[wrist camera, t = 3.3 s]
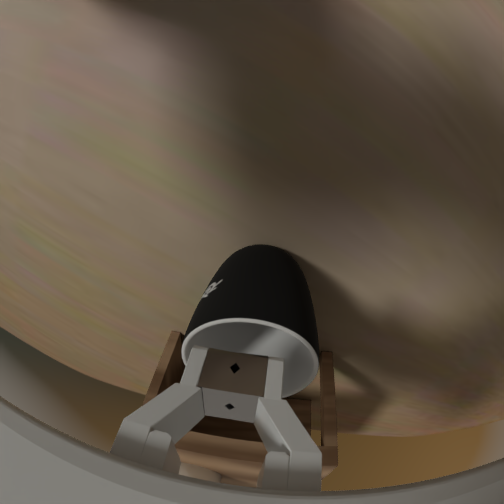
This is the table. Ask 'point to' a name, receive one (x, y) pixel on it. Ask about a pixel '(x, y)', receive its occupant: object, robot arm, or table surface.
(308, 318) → the mug
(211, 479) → the white cylinder
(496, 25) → the table surface
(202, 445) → the open wooden crate
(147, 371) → the table surface
